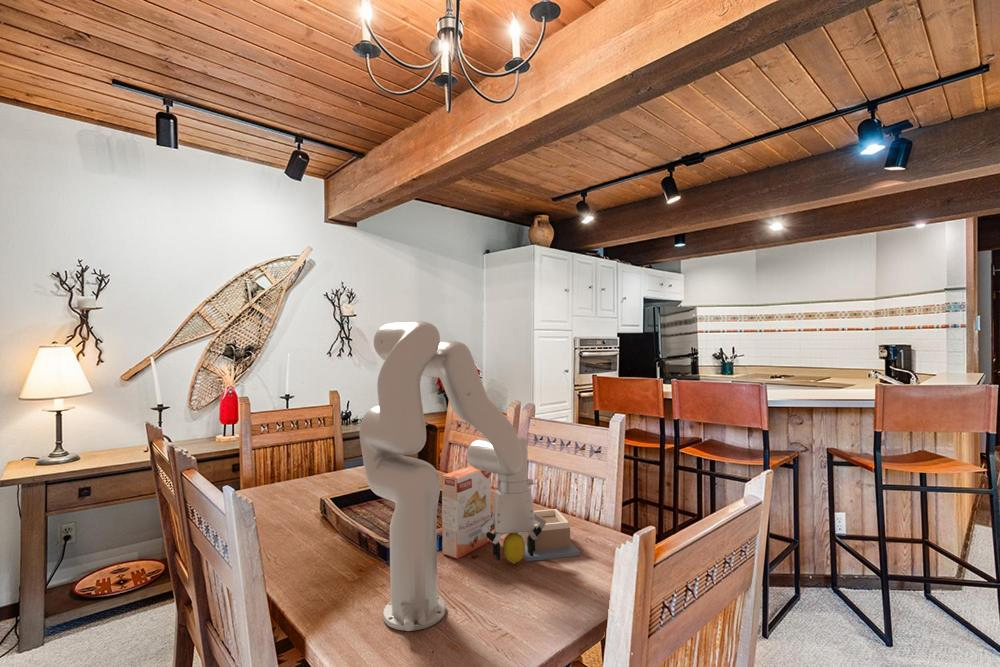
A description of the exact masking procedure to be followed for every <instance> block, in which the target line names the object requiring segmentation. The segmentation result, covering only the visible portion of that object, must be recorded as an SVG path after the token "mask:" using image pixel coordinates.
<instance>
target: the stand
mask: <svg viewBox="0 0 1000 667" xmlns="http://www.w3.org/2000/svg"><path fill="white" fill-rule="evenodd" d="M534 513H535V514H537V515H538V516H540V517H542V518H543V519H545V521H546V524H545V526H544V527H543V528H542V531H541V533H540V534H539V535H538V536H537V539H536V540H535V551H533V556H530V555H529V553H528V546H527V537H528V536H529V533H528V532H519V533H518V534H520V535H521V536H522V538H523V540H524V543H525V553H524V556H523V557H524V558H525V561H527V562H535V561H542V560H543V561H544V560H551V559H561V558H570V557H578V556H579V557H580V556H581V551H580V550H579V548H578V547H576V545H575V544H574V543H573V542H572V540H571V527H570V522H569V521H568V520H567V519H566V518H565V516H564V515H563V513H561V512H560V511H559V510H558V509H557V508H553V509H552V508H549V509H541V510H540V509H539V510H534ZM538 523H539V522H537V521H536V520H535V525H534V528H535V527H536V526H537V525H538Z"/></svg>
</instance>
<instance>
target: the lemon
mask: <svg viewBox="0 0 1000 667" xmlns="http://www.w3.org/2000/svg"><path fill="white" fill-rule="evenodd" d="M502 552H503V555H504V558H506V560H507V561H508V562H510V563H512V564H513V565H516V563H518V562H520V561H521V560H523V559H524V557H525V556H524V553H525V543H524V540H523V538H522V536H521V535H520V534H518V533H509V534H507V535H506V536H505V537H504V539H503V542H502Z"/></svg>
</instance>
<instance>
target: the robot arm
mask: <svg viewBox="0 0 1000 667" xmlns="http://www.w3.org/2000/svg"><path fill="white" fill-rule="evenodd" d="M373 337H374V338H373V347H374V350H375V352H376V353H377V355H378V357H380V358H381V359H382V360H384V362H383V364H382V365H381V368H380V371H379V373H378V377H377V385H376V387H377V390H376V391H377V398H378V399H377V400H378V405H375V406H373V407H371V408H370V409H369V410H367V411H366V412H365V414H364V415H363V418H362V420H361V421H360V426H359V432H358V434H359V443H360V449H361V454H362V461H363V466H364V472H365V478H366V481H367V485H368V487H369V489H370V490H371V491H372V492H373V493H374V494H375V495H376V496H378V497H381V498H383V499H385V500H388V501H390V502H392V503H394V504H395V505H394V506H395V507H394V511H393V514H392V517H391V520H390V525H389V569H390V570H389V571H390V574H389V578H390V579H389V580H390V581H389V582H390V583H389V584H390V601H389V602H388V603H387V604H386V605H385V606H384V607H383V612H382V619H383V621H384V623H385V625H387V626H388V627H390V628H391V629H394V630H396V631H397V630H398V631H403V632H405V631H406V632H414V631H419V630H423V629H428V628H430V627H432V626H435V625H436V624H437V623H439V622H440V621H441V620H442V619H443V618H444V616H445V615H446V603H445V601H444V599H443V598H441V596H438V594H439V593H438V590H439V589H438V539H437V538H438V537H437V535H438V534H437V515H438V514H437V512H438V507H439V506H438V505H439V498H440V492H441V488H442V481H441V476H440V474H439V472H438V470H437V469H436V468H435V467H434V465H432V464H431V463H430V462H428V461H425V460H423V459H420V458H415V457H411V456H413V455H415V454H418V453H419V452H421V451H422V449H423V448H424V446H425V445H426V442H427V427H426V421H425V413H424V407H423V401H422V400H423V399H422V393H421V392H422V391H421V390H422V389H421V381H422V380H421V379H422V376H424V377H429V378H439V380H440V382H441V384H442V387H443V389H444V391H445V395H446V396H447V400H448V402H449V404H450V407H451V409H452V412H453V413H454V414H455V415H456V416H457V417H458V418H459V419H461V420H462V421H463V422H465V423H466V424H468V425H470V426H471V427H473V428H475V429H476V430H478V432H480V433H481V435H482V436H484V437H483V438H482V437H481V438H478V439H476V440H473V441H472V442H471V443H470V444H469V446H468V447H467V450H466V459H467V462H468V463H469V466H472V467H474V468H476V469H479V470H482V471H486V472H491V474H495V475H497V489H495V490H494V493H493V500H492V511H491V512H492V516H491V517H490V518H489V519H488V520H487V521H486V522H484V523H483V524H482V525H481V526H480V527H481V529H482V531H483V532H484V533H485V535H486V536H487V537H488V538H489V539H490V540H491V541H490V542H491V543H492V554H493V556H495V558H496V560H497V561H500V560H501V543H500V539H501V537H502V536H503V535H506V534H507V535H508V534H509V533H519V532H528V533H529V536H528V537H527V546H528V553H529V555H530V556H533V551H535V540H536V539H537V536H538V535H539V534H540V533H541V531H542V528H543V527H544V526H545V524H546V521H545V519H543V518H542V517H540V516H538V515H537V514H535V513H534V511H535V510H534V503H533V496H532V493H531V492H532V491H531V489H530V488H529V487H530V486H532V485H534V483H535V482H534V479H533V478H532V479H531V478H529V476H528V475H529V473H528V472H529V471H528V470H529V469H528V441H527V439H526V437H525V436H523V435H522V434H521V435H520V434H517V432H516V430H515V428H514V426H513V424H512V423H511V422H510V420H509V419H508V418H507V416H506V415H505V414H504V413H503V412H502V411H501V410H500V409H499V408H498V407H497V405H495V403H493V401H491V400H490V398H489V397H488V395H487V392H486V390H485V386H484V385H483V382H482V379H481V376H480V374H479V372H478V368H477V366H476V363H475V361H474V357H473V355H472V352H471V350H470V349H469V347H468V346H467V345H466V344H464V343H463V342H461V341H456V340H441V335H440V333H439V329H438V328H437V326H435V325H434V324H432V323H430V322H427V321H422V320H421V321H419V320H413V321H403V322H399V321H398V322H391V323H387V324H384V325H382V326H381V327H379V328H378V330H376V332H375V334H374V336H373ZM535 520H536V521H537V522H539V523H538V525H537V526H536V527H535V528H534V525H535ZM490 526H492V527H493V528H494V530H493V533H492V532H490V531H489V530H488V528H489V527H490Z"/></svg>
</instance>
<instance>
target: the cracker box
mask: <svg viewBox="0 0 1000 667" xmlns="http://www.w3.org/2000/svg"><path fill="white" fill-rule="evenodd" d="M491 474H492V473H491V472H486V471H482V470H479V469H476V468H474V467H472V466H471V465H469V466H467V467H463V468H461V469H460V468H459V469H457V470H454V471H451V472H448V473H445V474H442V475H441V496H442V497H441V508H442V510H441V517H442V518H441V519H442V520H441V521H442V523H441V524H442V526H441V527H442V528H441V530H442V531H441V532H442V533H441V534H442V539H441V540H442V542H441V544H442V548H441V549H442V553H441V554H442V555H444V556H448V557H451V558H454V559H456V560H459V559H460V558H462V557H464V556H466V555H468V554H470V553H472V552H473V551H475V550H477V549H479V548H482V547H483V546H485V545H487V544H489V543H490V542H492V541H491V540H490V539H489V538H488V537H487V536H486V535H485V533H484V532H483V531H482V529H481V527H480V526H481V525H482V524H483V523H484V522H486V521H487V520H488V519H489V518H490V517H492V516H491V512H492V511H491V508H492V505H491V504H492V503H491V500H492V499H491V494H492V493H491V488H492V487H491V486H492V485H491V482H492V481H491V476H492V475H491ZM491 526H492V525H491ZM491 526H490V527H489V528H488V530H489V531H490V532H491V529H492V528H491ZM491 533H492V532H491Z"/></svg>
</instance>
